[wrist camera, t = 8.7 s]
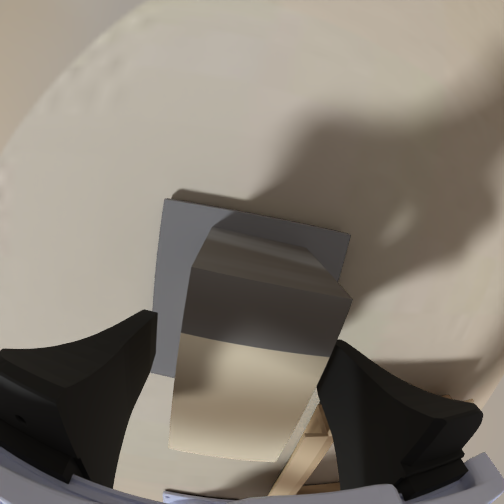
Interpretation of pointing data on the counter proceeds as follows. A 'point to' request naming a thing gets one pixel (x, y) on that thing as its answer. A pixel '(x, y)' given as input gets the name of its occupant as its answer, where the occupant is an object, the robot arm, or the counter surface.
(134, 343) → the robot arm
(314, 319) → the box
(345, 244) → the mat
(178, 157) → the counter surface
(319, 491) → the square wooden frame
